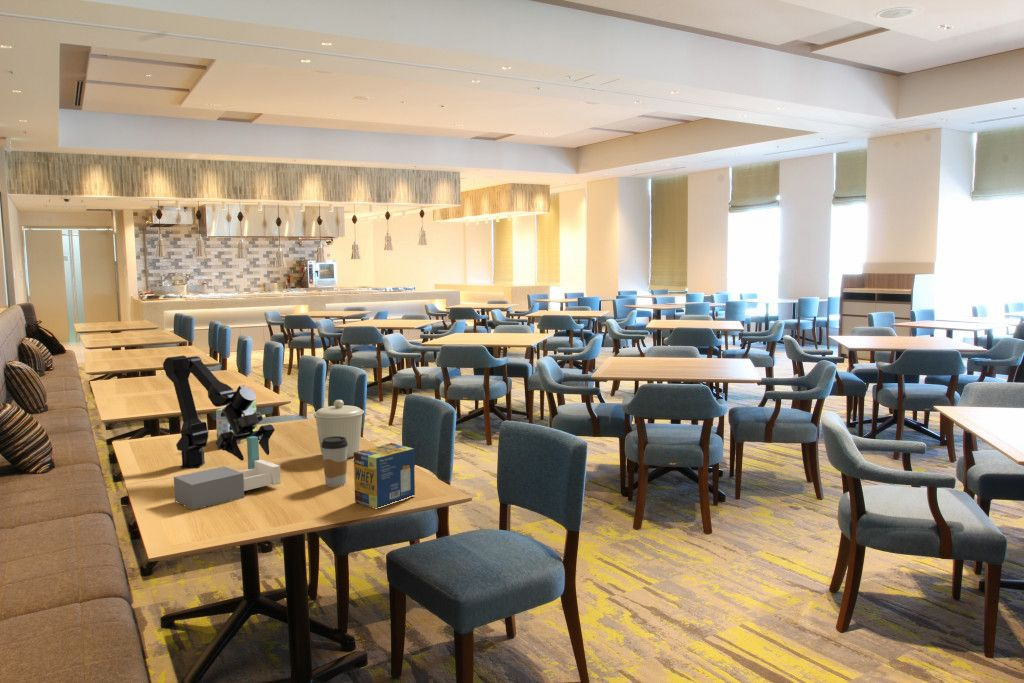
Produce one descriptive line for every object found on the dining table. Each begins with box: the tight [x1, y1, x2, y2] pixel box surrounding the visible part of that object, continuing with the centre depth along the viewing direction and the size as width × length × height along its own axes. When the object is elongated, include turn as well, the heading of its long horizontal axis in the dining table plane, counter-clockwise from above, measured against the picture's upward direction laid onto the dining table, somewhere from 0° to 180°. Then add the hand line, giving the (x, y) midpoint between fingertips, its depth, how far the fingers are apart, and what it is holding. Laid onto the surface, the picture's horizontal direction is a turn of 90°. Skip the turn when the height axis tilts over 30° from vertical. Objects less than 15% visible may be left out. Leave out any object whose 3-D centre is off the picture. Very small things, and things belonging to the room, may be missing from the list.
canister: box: [313, 399, 365, 459], centre depth 284 cm, size 18×18×21 cm
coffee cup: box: [321, 436, 348, 488], centre depth 248 cm, size 8×8×15 cm
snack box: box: [215, 400, 258, 445], centre depth 307 cm, size 21×6×15 cm, turn 168°
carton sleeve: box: [173, 465, 245, 510], centre depth 234 cm, size 16×12×8 cm
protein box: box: [353, 442, 416, 509], centre depth 232 cm, size 10×15×16 cm
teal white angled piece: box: [239, 436, 281, 492], centre depth 244 cm, size 17×16×13 cm
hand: (255, 457), depth 253 cm, fingers open, 9 cm apart
